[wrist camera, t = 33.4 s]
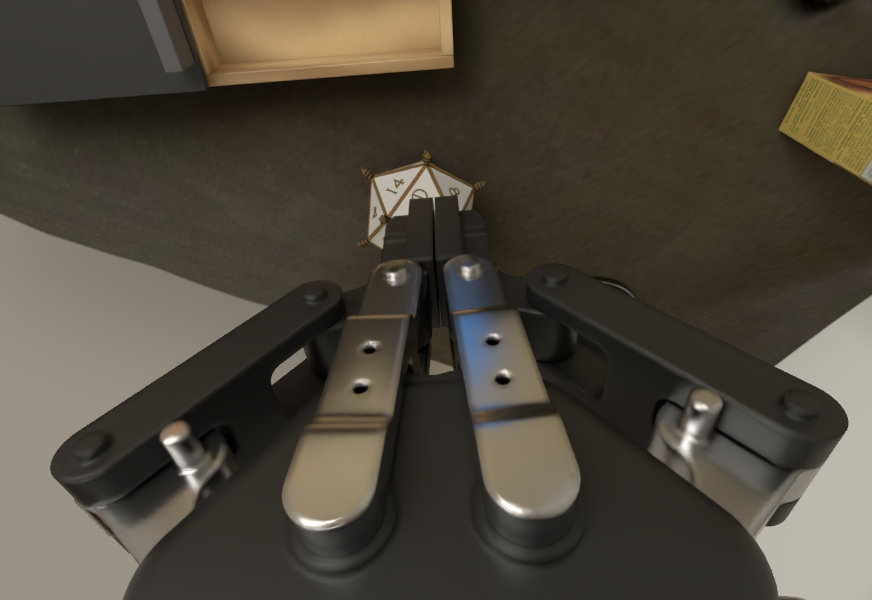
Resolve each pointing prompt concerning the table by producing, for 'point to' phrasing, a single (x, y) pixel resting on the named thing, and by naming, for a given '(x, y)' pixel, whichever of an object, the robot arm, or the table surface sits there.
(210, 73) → the case
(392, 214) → the game die
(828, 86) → the candy box
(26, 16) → the lid
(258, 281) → the table surface
